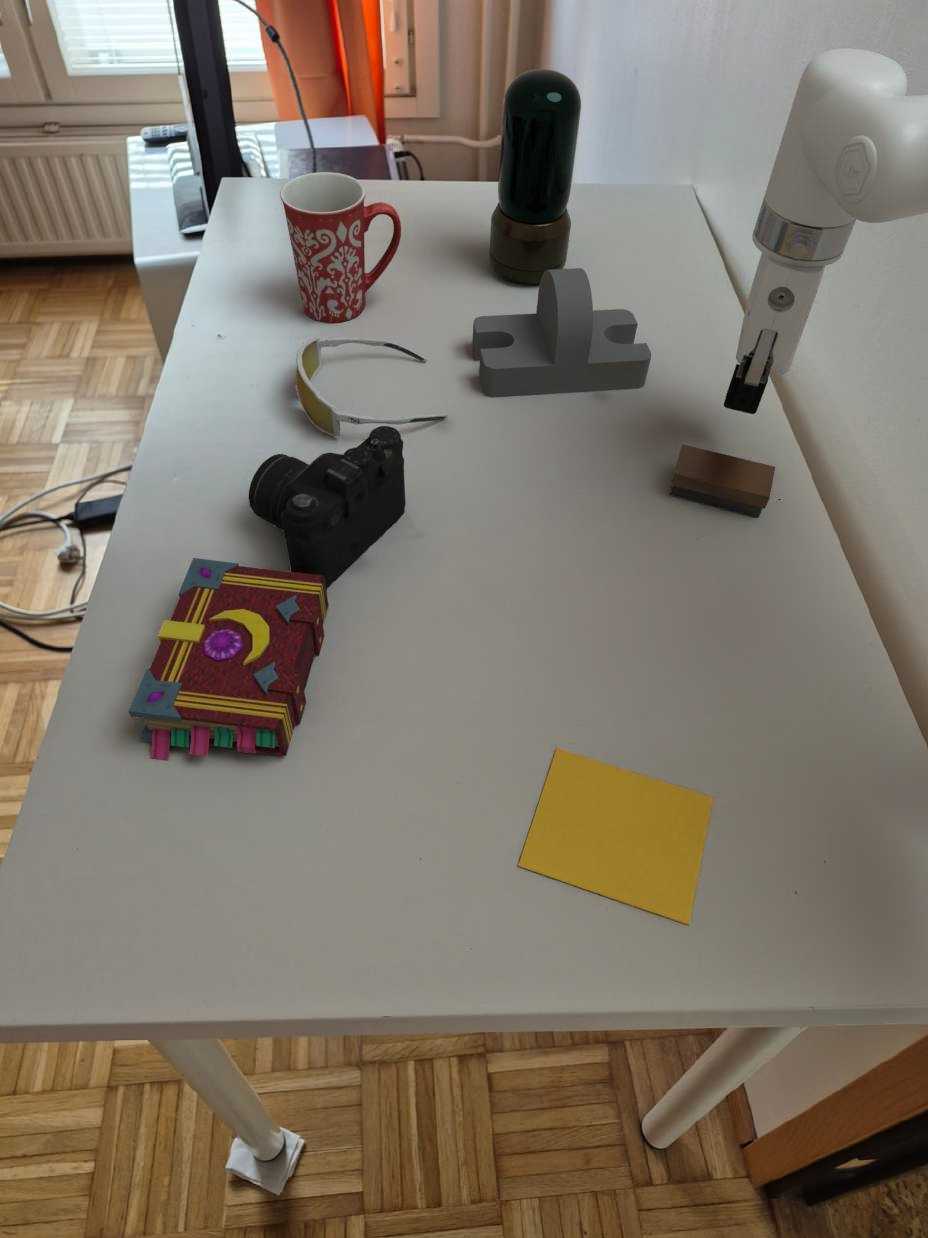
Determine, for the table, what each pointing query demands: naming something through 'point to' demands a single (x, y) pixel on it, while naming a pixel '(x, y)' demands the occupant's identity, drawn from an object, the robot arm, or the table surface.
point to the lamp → (535, 176)
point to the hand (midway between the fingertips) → (740, 405)
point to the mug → (333, 242)
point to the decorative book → (233, 660)
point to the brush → (722, 481)
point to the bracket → (559, 344)
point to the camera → (333, 502)
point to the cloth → (619, 835)
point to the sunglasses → (322, 410)
